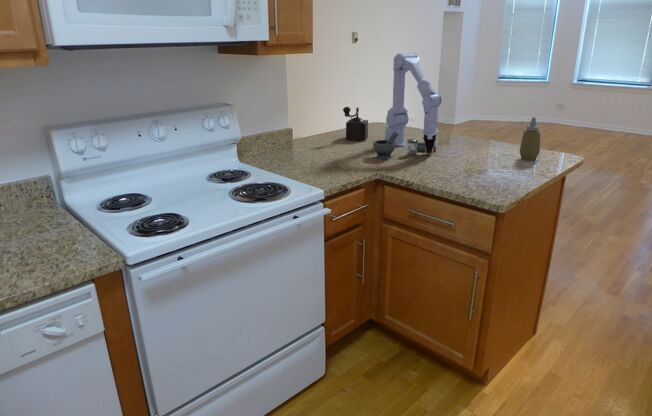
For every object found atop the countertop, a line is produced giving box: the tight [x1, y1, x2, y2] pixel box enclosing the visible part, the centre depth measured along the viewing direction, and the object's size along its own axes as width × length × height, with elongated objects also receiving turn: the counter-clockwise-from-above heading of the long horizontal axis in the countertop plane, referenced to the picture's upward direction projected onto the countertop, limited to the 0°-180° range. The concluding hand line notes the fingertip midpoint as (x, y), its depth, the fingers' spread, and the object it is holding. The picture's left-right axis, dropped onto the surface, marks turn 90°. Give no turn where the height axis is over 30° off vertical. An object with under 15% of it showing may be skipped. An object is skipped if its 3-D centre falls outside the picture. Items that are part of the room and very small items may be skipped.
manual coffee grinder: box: [342, 106, 369, 142], centre depth 243 cm, size 16×11×18 cm
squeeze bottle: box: [519, 116, 541, 162], centre depth 198 cm, size 8×8×18 cm
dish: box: [417, 142, 437, 153], centre depth 222 cm, size 11×8×2 cm
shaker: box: [406, 138, 419, 157], centre depth 212 cm, size 5×5×7 cm
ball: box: [424, 148, 434, 156], centre depth 212 cm, size 4×4×4 cm
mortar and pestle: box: [372, 131, 399, 160], centre depth 208 cm, size 11×9×12 cm
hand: (429, 151), depth 212 cm, fingers closed on ball, 4 cm apart
